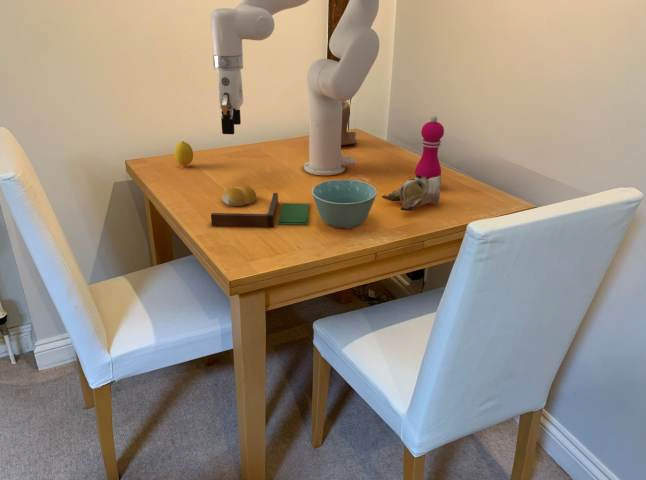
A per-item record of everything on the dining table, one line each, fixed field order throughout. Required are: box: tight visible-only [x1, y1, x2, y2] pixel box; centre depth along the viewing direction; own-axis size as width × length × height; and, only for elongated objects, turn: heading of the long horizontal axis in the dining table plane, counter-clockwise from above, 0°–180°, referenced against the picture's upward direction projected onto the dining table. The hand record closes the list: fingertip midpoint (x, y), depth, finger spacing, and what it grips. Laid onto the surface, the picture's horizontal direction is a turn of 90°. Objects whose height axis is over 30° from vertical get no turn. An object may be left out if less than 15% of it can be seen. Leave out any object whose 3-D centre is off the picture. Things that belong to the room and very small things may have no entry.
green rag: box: [277, 202, 310, 226], centre depth 148 cm, size 7×13×1 cm, turn 178°
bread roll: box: [221, 185, 257, 207], centre depth 155 cm, size 8×9×4 cm
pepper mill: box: [414, 115, 445, 180], centre depth 160 cm, size 7×7×20 cm
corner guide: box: [210, 192, 279, 228], centre depth 147 cm, size 15×15×3 cm
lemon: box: [173, 140, 194, 168], centre depth 177 cm, size 6×6×8 cm
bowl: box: [311, 179, 378, 230], centre depth 142 cm, size 16×16×8 cm
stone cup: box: [341, 101, 357, 146], centre depth 196 cm, size 15×12×15 cm
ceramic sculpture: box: [381, 175, 442, 212], centre depth 151 cm, size 11×9×15 cm
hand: (231, 129), depth 157 cm, fingers open, 9 cm apart
